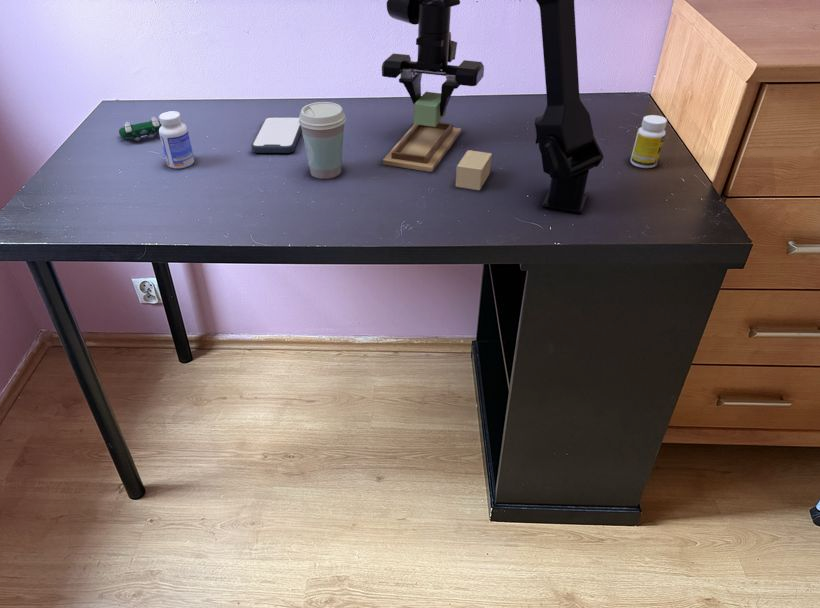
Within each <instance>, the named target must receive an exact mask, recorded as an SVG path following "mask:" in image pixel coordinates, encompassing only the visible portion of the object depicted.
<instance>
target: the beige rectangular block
mask: <svg viewBox="0 0 820 608" xmlns="http://www.w3.org/2000/svg"><path fill="white" fill-rule="evenodd" d="M492 156H493V153H491V152H485V151H478V150H476V151H475V150H470V149H468V150H467V151H466V152H465V153H464V155H463V156H462V157H461V160H460V161H459V163H458V164H457V165H456V174H455V188H461V189H468V190H473V191H481V189H482V188H483V186H484V184H485V182H487V179H488V177H489V176H490V175H491V165H492Z"/></svg>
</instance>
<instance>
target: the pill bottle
mask: <svg viewBox="0 0 820 608" xmlns="http://www.w3.org/2000/svg"><path fill="white" fill-rule="evenodd" d="M158 119H159V120H158V121H160V123H161V125H162V126H161V127H160V128H159V132H158V134H159V138H160V142H161V146H162V150H163V155H164V158H165V162H166V165H167V166H168V167H170V168H171V169H176V170H179V169H185V168H188V167H191V166H192V165H193V164H194V162H195V157H194V153H193V147H192V143H191V140H190V139H191V138H190V134H189V130H188V126H187V124H185V123H184V122H182V121H183V120H182V115H181V113H180V112H179V111H177V110H170V111H165V112H162V113H161V114H159V115H158Z"/></svg>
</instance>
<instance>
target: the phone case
mask: <svg viewBox="0 0 820 608" xmlns="http://www.w3.org/2000/svg"><path fill="white" fill-rule="evenodd" d="M301 134H302V128H301V125H300V124H299V117H294V116H293V117H289V116H288V117H283V116H281V117H272V116H271V117H266V118H265V119H264V120H263V122H262V124H261V125H260V128H259V129H258V131H257V133H256V134H255V138H254V139H253V141H252V144H251V151H252V152H253V153H256V154H258V153H259V154H260V153H261V154H263V153H264V154H265V153H266V154H270V153H271V154H290V153H293V152H294V151H295V149H296V146H297V144H298V141H299V139H300V136H301Z"/></svg>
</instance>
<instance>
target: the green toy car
mask: <svg viewBox="0 0 820 608" xmlns="http://www.w3.org/2000/svg"><path fill="white" fill-rule="evenodd" d="M161 126H162V125H161V123H160V120H158V119H157V118H156V117H155V116H151V119H150V121H144V122H140V123H135V124H131V123H130V122H129V121H125V122H124V126H122V127H121V128H119V130H118V134H119V136H120V137H121V138H122V139H128V140H129V139H133V140H134V141H136V142H139V141H140V140H141V137H144V136H147V137H148V138H149V139H153V138H154V137H155V134H159V128H160V127H161Z"/></svg>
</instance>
